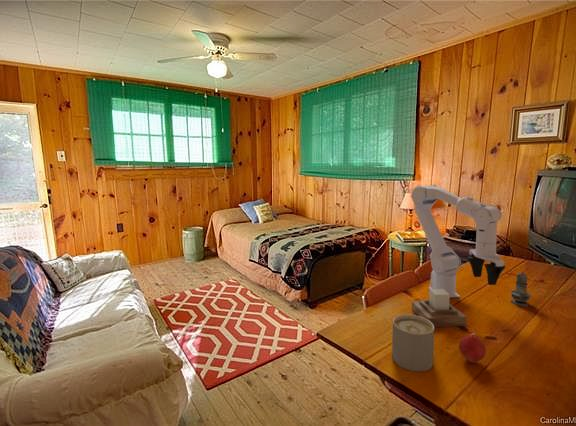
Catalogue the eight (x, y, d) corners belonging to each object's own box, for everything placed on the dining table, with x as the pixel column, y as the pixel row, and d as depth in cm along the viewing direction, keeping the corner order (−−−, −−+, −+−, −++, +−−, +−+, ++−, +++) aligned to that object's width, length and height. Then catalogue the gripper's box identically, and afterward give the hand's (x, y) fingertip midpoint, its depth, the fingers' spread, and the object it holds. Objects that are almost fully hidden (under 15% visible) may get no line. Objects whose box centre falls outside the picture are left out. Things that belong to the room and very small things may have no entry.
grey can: (418, 377, 71) (419, 338, 70) (384, 356, 79) (384, 321, 78) (447, 356, 79) (449, 321, 77) (413, 339, 87) (414, 307, 85)
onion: (453, 355, 79) (454, 327, 78) (473, 353, 79) (475, 326, 78) (468, 370, 73) (470, 340, 72) (490, 368, 74) (492, 338, 72)
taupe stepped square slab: (411, 309, 105) (412, 298, 104) (445, 308, 105) (446, 297, 104) (428, 327, 93) (428, 314, 92) (466, 325, 93) (466, 313, 92)
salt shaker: (534, 307, 104) (537, 274, 102) (514, 306, 105) (517, 273, 103) (524, 299, 109) (527, 268, 108) (506, 299, 110) (508, 268, 109)
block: (428, 305, 101) (429, 289, 100) (442, 305, 101) (443, 288, 100) (434, 312, 96) (435, 294, 96) (448, 312, 96) (449, 294, 95)
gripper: (514, 246, 93) (511, 287, 95) (483, 237, 108) (482, 273, 109) (491, 247, 93) (490, 288, 95) (464, 237, 107) (463, 273, 109)
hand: (484, 280), depth 102 cm, fingers open, 7 cm apart
